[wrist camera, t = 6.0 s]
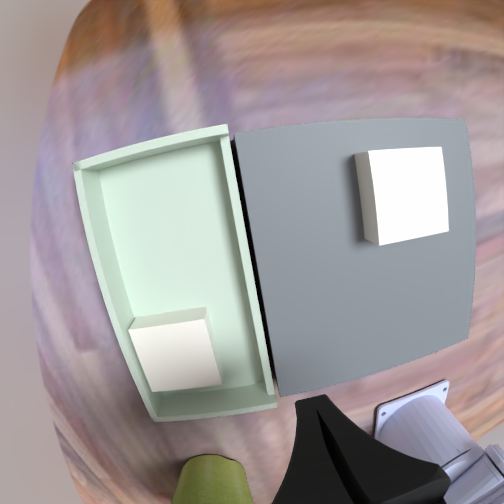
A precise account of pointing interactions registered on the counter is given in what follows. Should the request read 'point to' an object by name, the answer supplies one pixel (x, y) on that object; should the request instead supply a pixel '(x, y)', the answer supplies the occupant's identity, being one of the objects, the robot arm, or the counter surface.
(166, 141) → the tray
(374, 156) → the tile
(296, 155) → the board
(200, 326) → the tile
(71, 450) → the counter surface
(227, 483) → the plant pot
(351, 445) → the robot arm
